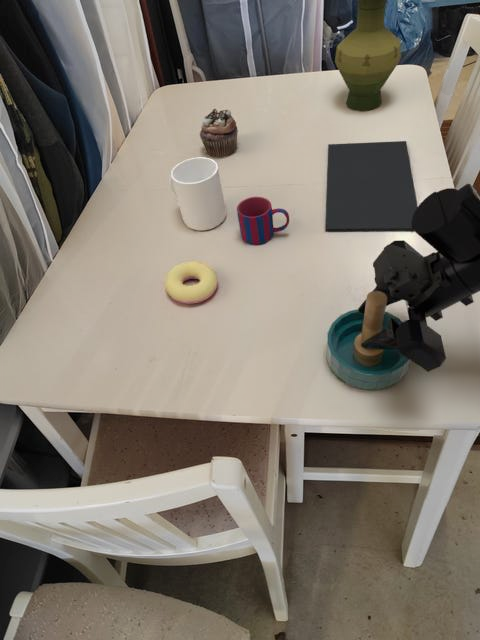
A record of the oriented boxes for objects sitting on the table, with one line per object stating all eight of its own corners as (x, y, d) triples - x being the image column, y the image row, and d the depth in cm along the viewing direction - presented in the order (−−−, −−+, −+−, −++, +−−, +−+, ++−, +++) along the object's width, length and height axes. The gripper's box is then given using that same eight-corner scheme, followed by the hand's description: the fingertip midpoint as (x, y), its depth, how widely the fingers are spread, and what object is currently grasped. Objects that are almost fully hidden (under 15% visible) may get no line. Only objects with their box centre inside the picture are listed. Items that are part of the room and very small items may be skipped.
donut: (193, 273, 88) (158, 297, 83) (187, 253, 86) (151, 277, 81) (229, 286, 83) (195, 313, 78) (225, 265, 80) (189, 291, 75)
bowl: (404, 327, 71) (409, 309, 68) (412, 394, 63) (418, 377, 60) (327, 325, 73) (328, 307, 70) (325, 388, 66) (326, 372, 62)
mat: (405, 144, 105) (406, 140, 104) (420, 231, 85) (421, 227, 84) (328, 147, 108) (328, 144, 108) (325, 231, 88) (325, 228, 88)
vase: (323, 99, 125) (325, -34, 102) (375, 84, 126) (389, -50, 103) (350, 123, 114) (359, -18, 91) (406, 107, 116) (429, -36, 93)
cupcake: (242, 139, 116) (237, 100, 108) (236, 159, 110) (231, 119, 102) (207, 140, 118) (199, 102, 110) (199, 160, 112) (191, 122, 104)
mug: (220, 233, 92) (210, 184, 83) (167, 230, 95) (152, 182, 86) (231, 206, 98) (223, 157, 89) (181, 203, 101) (168, 156, 92)
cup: (246, 222, 93) (243, 195, 88) (293, 227, 90) (292, 199, 85) (236, 243, 89) (232, 215, 84) (284, 249, 86) (283, 221, 81)
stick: (361, 339, 70) (369, 281, 60) (387, 351, 68) (400, 293, 58) (347, 358, 68) (353, 302, 58) (374, 371, 66) (385, 315, 56)
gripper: (411, 187, 55) (320, 255, 66) (437, 297, 44) (322, 359, 54) (462, 235, 60) (370, 291, 70) (498, 346, 48) (381, 394, 59)
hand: (361, 328), depth 63 cm, fingers open, 6 cm apart
